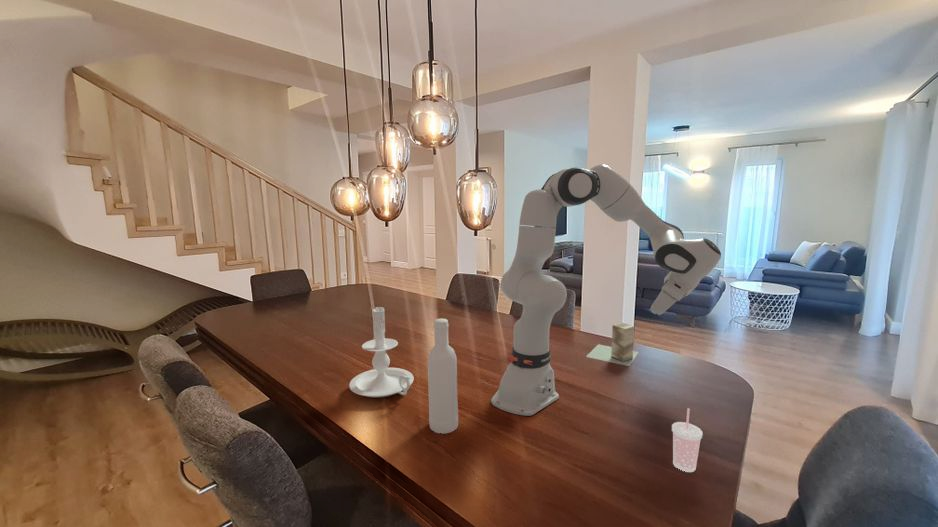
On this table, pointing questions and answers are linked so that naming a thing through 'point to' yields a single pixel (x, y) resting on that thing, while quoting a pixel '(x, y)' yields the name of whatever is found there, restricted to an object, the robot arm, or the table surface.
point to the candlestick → (381, 365)
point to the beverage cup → (686, 445)
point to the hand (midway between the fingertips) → (653, 311)
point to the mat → (607, 355)
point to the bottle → (442, 382)
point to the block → (622, 342)
